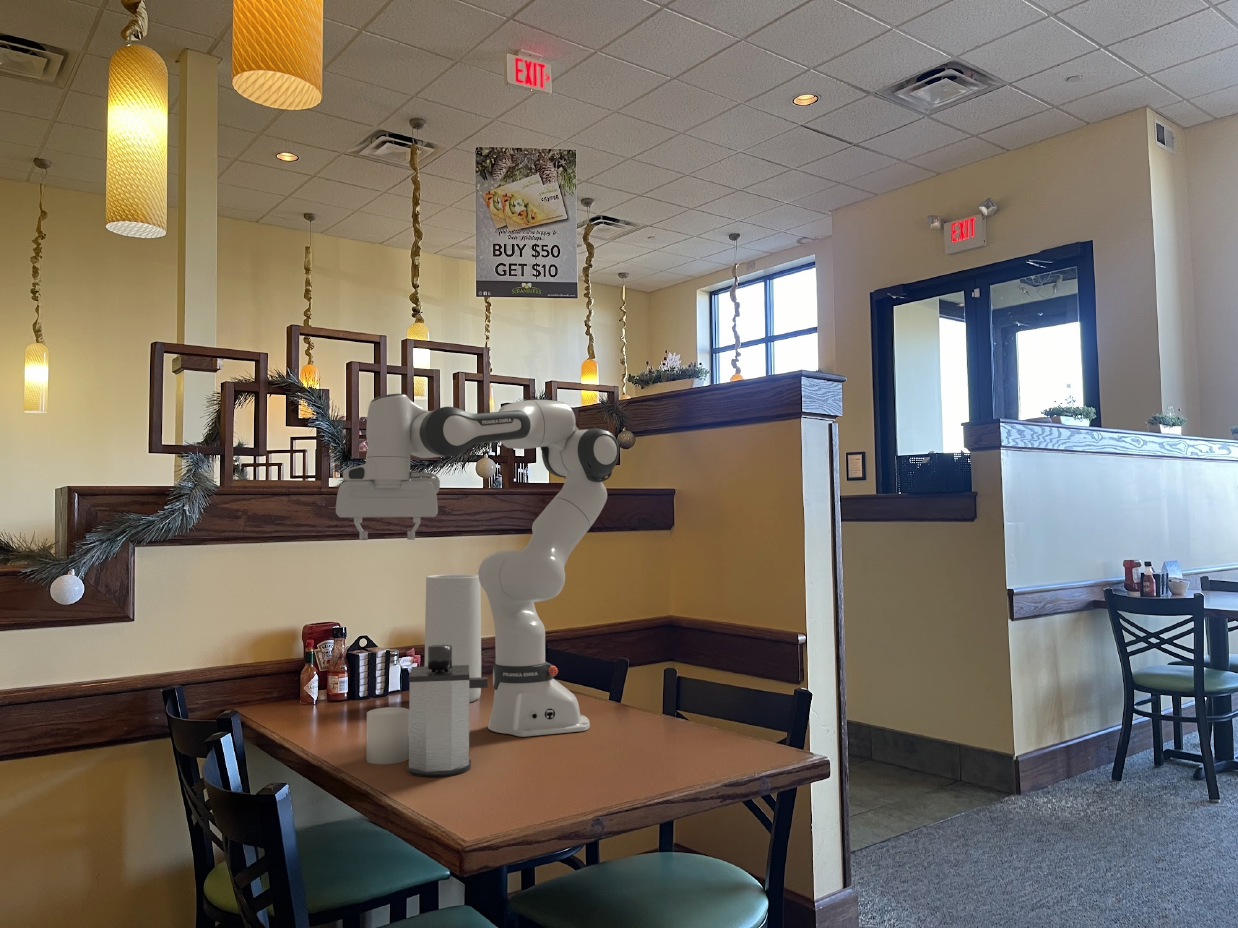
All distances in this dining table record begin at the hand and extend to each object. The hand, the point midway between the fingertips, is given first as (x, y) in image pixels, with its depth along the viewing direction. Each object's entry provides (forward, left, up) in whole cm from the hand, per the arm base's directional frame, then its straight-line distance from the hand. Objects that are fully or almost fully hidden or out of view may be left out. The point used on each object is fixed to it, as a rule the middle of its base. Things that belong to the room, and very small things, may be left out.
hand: (387, 539), depth 184 cm
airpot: (-13, +16, -42) cm, 47 cm away
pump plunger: (-11, +16, -41) cm, 45 cm away
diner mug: (-1, +5, -42) cm, 43 cm away
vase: (-13, -48, -42) cm, 65 cm away
